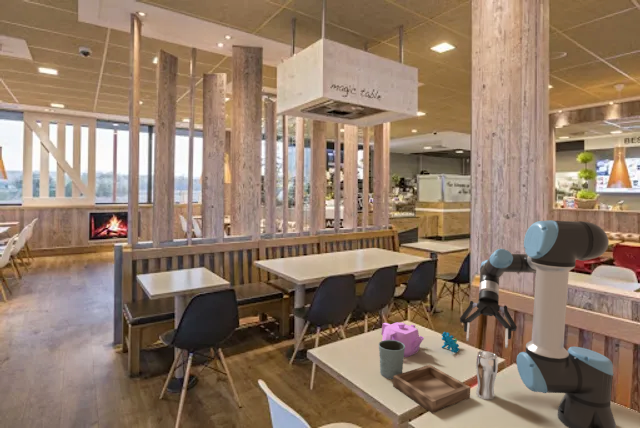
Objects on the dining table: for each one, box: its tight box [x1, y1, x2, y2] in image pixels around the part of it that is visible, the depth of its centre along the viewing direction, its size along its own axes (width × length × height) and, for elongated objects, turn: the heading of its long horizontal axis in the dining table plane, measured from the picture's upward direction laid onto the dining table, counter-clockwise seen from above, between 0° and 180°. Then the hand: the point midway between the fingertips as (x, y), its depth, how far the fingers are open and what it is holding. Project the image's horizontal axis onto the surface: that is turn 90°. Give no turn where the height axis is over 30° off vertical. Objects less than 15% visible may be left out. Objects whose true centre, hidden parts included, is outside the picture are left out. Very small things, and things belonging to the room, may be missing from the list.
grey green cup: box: [378, 340, 405, 380], centre depth 147 cm, size 10×10×12 cm
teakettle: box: [380, 321, 425, 358], centre depth 170 cm, size 17×17×12 cm
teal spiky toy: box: [441, 331, 460, 354], centre depth 172 cm, size 11×6×10 cm
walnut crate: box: [392, 364, 471, 414], centre depth 135 cm, size 19×19×4 cm
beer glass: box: [475, 350, 499, 401], centre depth 133 cm, size 7×7×15 cm
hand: (486, 343), depth 141 cm, fingers open, 13 cm apart
